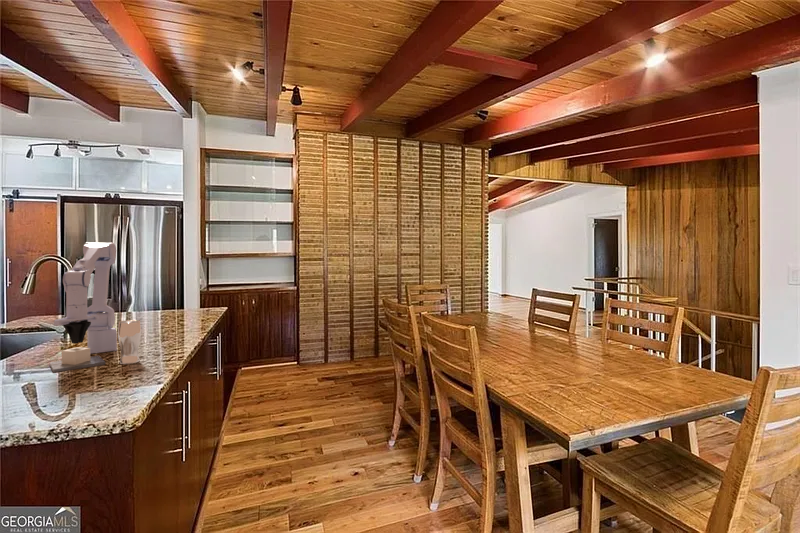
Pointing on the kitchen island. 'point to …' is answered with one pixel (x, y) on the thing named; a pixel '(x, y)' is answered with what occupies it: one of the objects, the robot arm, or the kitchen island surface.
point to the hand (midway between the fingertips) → (77, 342)
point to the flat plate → (59, 366)
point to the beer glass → (129, 341)
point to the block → (75, 355)
